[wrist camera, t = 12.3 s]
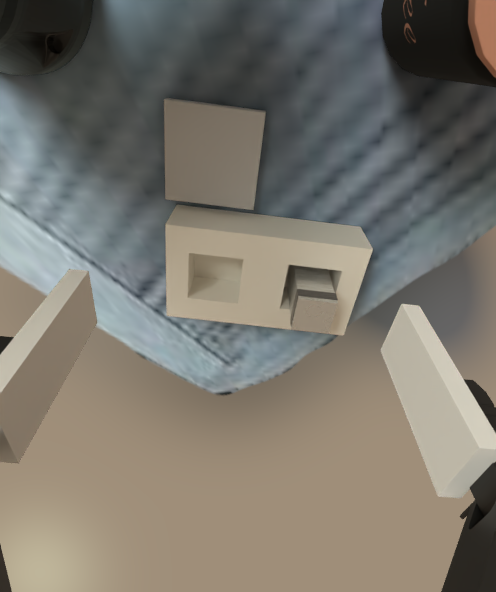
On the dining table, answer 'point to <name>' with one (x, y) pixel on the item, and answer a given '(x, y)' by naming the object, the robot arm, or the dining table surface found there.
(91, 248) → the dining table surface
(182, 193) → the beige flat square plate
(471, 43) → the coffee jar
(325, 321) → the plug
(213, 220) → the port box
